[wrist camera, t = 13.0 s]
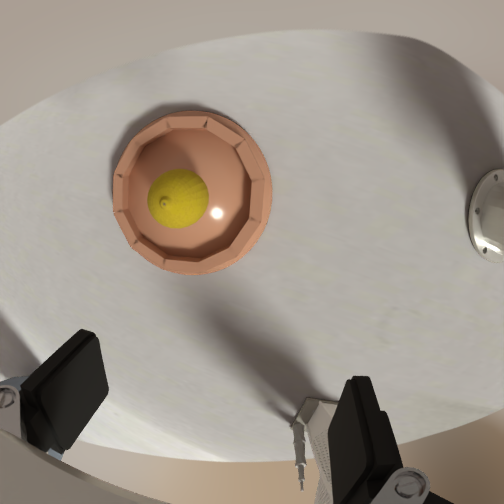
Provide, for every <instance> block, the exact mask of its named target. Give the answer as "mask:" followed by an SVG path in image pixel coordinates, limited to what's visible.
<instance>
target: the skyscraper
mask: <svg viewBox="0 0 504 504" xmlns="http://www.w3.org/2000/svg"><path fill="white" fill-rule="evenodd" d="M338 403H339V402H333V401H326V400H319V399H313V398H306V400H305V402H304V404H303V406H302V408H301V410H300V411H299V413H298V415H297V417H296V419H295V421H294V423H293V424H292V426H291V429H292V430H293V433H294V442H293V444H294V447H295V453H296V464H295V467H296V468H298V472H299V480H298V481H299V482H300V483H301V491H303V481H304V480H305V478H304V467H305V466H306V460H305V442H306V441H305V437H304V431H306V432H308V436H309V440H310V444H311V447H312V451H313V454H314V457H315V460H316V463H317V466H318V469H319V471H320V479H319V483H318V488H317V493H316V498H315V504H333V494H332V481H331V468H330V457H329V446H328V428H329V425H330V423H331V420H332V418H333V415H334V413H335V410H336V408H337V405H338Z"/></svg>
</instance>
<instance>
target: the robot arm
mask: <svg viewBox="0 0 504 504" xmlns="http://www.w3.org/2000/svg"><path fill="white" fill-rule="evenodd" d="M468 222H469V232H470V237H471V240H472V243H473V246H474V248H475V249H476V251H477V252H478V254H479V255H480V256H481V257H483V258H484V259H486V260H488V261H490V262H492V263H501V262H504V169H496V170H492V171H490V172H489V173H487V174H486V175H485V176H484V177H483V178H482V179H481V180H480V182H479V183H478V185H477V186H476V188H475V191H474V193H473V196H472V199H471V202H470V208H469V220H468ZM20 387H21V390H20V391H19V392H18V390H17V389H16V388H15V387H13V386H10V385H1V386H0V504H170V503H166V502H163V501H159V500H156V499H153V498H149V497H146V496H143V495H140V494H137V493H134V492H131V491H129V490H126V489H123V488H120V487H118V486H115V485H113V484H110V483H108V482H105V481H103V480H100V479H98V478H95V477H93V476H91V475H89V474H87V473H84V472H82V471H80V470H78V469H76V468H74V467H72V466H70V465H68V464H66V463H64V462H62V461H60V460H58V459H56V458H54V457H52V456H51V455H49V454H48V450H49V449H50V448H51V449H52V450H54V451H56V452H57V453H59V454H61V455H62V454H63V453H64V451H65V450H68V449H70V448H71V446H72V445H73V443H74V442H75V440H76V439H77V438H78V436H79V435H80V433H81V432H82V430H83V429H84V427H85V426H86V425H87V423H88V422H89V420H90V419H91V417H92V416H93V415H94V413H95V412H96V410H97V409H98V408H99V406H100V405H101V403H102V402H103V401H104V399H105V398H106V396H107V395H108V391H109V387H108V382H107V378H106V374H105V369H104V364H103V359H102V354H101V349H100V343H99V339H98V338H97V337H96V335H95V333H93V332H90V331H87V330H84V329H80V330H79V331H78V332H77V333H75V334H74V335H73V336H72V337H71V338H70V339H69V340H68V341H67V342H65V343H64V344H63V345H62V346H61V347H60V348H59V349H58V350H57V351H56V352H55V353H53V354H52V355H51V356H50V357H49V358H48V359H47V360H46V361H45V362H44V363H43V364H42V365H41V366H40V367H39V368H37V369H36V370H35V371H34V372H33V373H32V374H31V375H30V376H29V377H28V378H27V379H26V380H25V381H24V382H23V383H22V384H21V385H20ZM328 446H329V457H330V468H331V481H332V494H333V504H454V503H451V502H449V501H448V500H445V499H444V498H441V497H440V496H438V495H436V494H434V493H432V492H430V491H429V490H430V481H429V479H428V477H427V476H426V475H425V474H424V472H422V471H420V470H419V469H416V468H410V467H405V468H403V464H402V461H401V457H400V454H399V450H398V447H397V443H396V440H395V437H394V434H393V430H392V427H391V424H390V421H389V418H388V415H387V413H386V412H385V411H380V408H379V404H378V401H377V398H376V395H375V392H374V389H373V386H372V383H371V380H370V377H369V376H353V377H352V379H351V380H350V379H348V380H347V381H346V384H345V387H344V389H343V392H342V395H341V397H340V400H339V403H338V405H337V408H336V410H335V413H334V415H333V418H332V420H331V423H330V425H329V428H328Z"/></svg>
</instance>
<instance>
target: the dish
mask: <svg viewBox="0 0 504 504" xmlns="http://www.w3.org/2000/svg"><path fill="white" fill-rule="evenodd" d="M173 169H187V170H190V171H192V172H195V173H196V174H197V175H199V176H200V177H201V178H202V179H203V181H204V182H205V184H206V186H207V188H208V193H209V203H208V206H207V209H206V211H205V213H204V214H203V216H202V217H201V218H200V219H199V220H198V221H197V222H196V223H194V224H192V225H190V226H188V227H184V228H180V229H178V228H169V227H165V226H163V225H161V224H159V223H158V222H157V221H156V220H155V219H154V218H153V217H152V215H151V213H150V211H149V208H148V203H147V197H148V192H149V189H150V187H151V185H152V184H153V182H154V181H155V180H156V179H157V178H158V177H159V176H160V175H161V174H163V173H165V172H167V171H169V170H173ZM114 173H115V174H113V212H115V213H114V216H115V218H116V220H117V222H118V224H119V226H120V228H121V230H122V232H123V233H124V235H125V237H126V239H127V241H128V243H129V245H130V247H131V246H132V247H131V248H132V249H134V250H135V251H137V252H138V253H139V254H140V255H141V256H143V257H144V258H145V259H146V260H148V261H149V262H151V263H152V264H154V265H156V266H158V267H159V268H161V269H163V270H167V271H170V272H174V273H178V274H184V275H201V274H208V273H212V272H216V271H219V270H221V269H224V268H226V267H228V266H230V265H232V264H234V263H235V262H236V261H238V260H239V259H241V258H242V257H243V256H244V255H245V254H246V253H247V252H248V251H250V249H251V248H252V247H253V246H254V245H255V243H256V242H257V241H258V239H259V237H260V236H261V234H262V233H263V230H264V228H265V226H266V224H267V221H268V218H269V214H270V210H271V204H272V182H271V175H270V172H269V168H268V165H267V162H266V160H265V157H264V155H263V154H262V152H261V150H260V148H259V147H258V145H257V144H256V143H255V141H254V140H253V139H252V138H251V136H250V135H249V134H248V133H247V132H245V131H244V130H243V129H242V128H241V127H239V126H238V125H237V124H235V123H234V122H232V121H230V120H228V119H226V118H225V117H222V116H219V115H217V114H214V113H209V112H204V111H180V112H176V113H171V114H168V115H166V116H163V117H160V118H158V119H157V120H155V121H153V122H151V123H150V124H148V125H147V126H145V127H144V128H143V129H142V130H140V131H139V132H138V133H137V134H136V135H135V136H134V137H133V139H132V140H131V141H130V142H129V144H128V145H127V147H126V148H125V150H124V151H123V153H122V155H121V158H120V160H119V162H118V165H117V168H116V170H115V171H114Z"/></svg>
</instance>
